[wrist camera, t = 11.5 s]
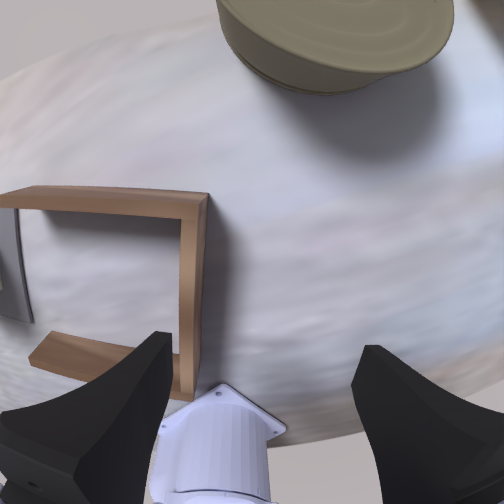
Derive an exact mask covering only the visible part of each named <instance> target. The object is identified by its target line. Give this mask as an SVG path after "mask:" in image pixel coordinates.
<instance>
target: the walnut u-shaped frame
mask: <svg viewBox="0 0 504 504" xmlns="http://www.w3.org/2000/svg"><path fill="white" fill-rule="evenodd" d="M208 195H209V193H202V192H189V191H175V190H159V189H142V188H121V187H94V186H31V187H27V188H23V189H19V190H16V191H12V192H8V193H4V194H1V195H0V208H16V209H38V210H57V211H75V212H92V213H107V214H122V215H136V216H149V217H162V218H175V219H181V240H180V271H179V354H173V381H172V386H171V391H170V396H169V399H175V400H182V401H190V402H193V401H194V395H195V389H196V384H197V378H198V373H199V368H200V341H201V311H202V288H203V268H204V251H205V235H206V221H207V207H208ZM134 349H135V348H132V347H126V346H121V345H115V344H110V343H105V342H100V341H95V340H90V339H85V338H81V337H76V336H72V335H67V334H63V333H59V332H55V331H51V332H50V333H49V334H48V335H47V337H46V338H45V339H44V340H43V341H42V342H41V343H40V344H39V345H38V347H37V348H36V349H35V350H34V351H33V352H32V353H31V355H30V356H29V357H28V358H29V361H30V364H31V366H33V367H36V368H39V369H43V370H46V371H49V372H52V373H55V374H59V375H62V376H66V377H69V378H73V379H77V380H80V381H84V382H88V383H89V382H90V381H92V380H94V379H96V378H97V377H99V376H100V375H102V374H103V373H105V372H106V371H108V370H109V369H110V368H112V367H113V366H114V365H116V364H117V363H119V362H120V361H121V360H122V359H124V358H125V357H126V356H127V355H128V354H130V353H131V352H132V351H133V350H134Z"/></svg>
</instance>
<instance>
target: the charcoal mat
mask: <svg viewBox="0 0 504 504" xmlns="http://www.w3.org/2000/svg"><path fill="white" fill-rule="evenodd" d="M0 277H1V282H2V287H3V289H2V290H0V315H3V316H6V317H10V318H13V319H17V320H20V321H24V322H27V323H32V322H33V319H32V314H31V310H30V305H29V300H28V295H27V290H26V284H25V278H24V272H23V265H22V258H21V250H20V241H19V230H18V217H17V209H16V208H0Z"/></svg>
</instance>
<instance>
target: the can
mask: <svg viewBox="0 0 504 504" xmlns="http://www.w3.org/2000/svg"><path fill="white" fill-rule="evenodd" d="M216 3H217V8H218V12H219V17H220V23H221V27H222V31H223V33H224V36H225V38H226V40H227V42H228V44H229V46H230V47H231V49H232V50H233V52H234V53H235V54H236V55H237V57H238V58H239V59H240V60H241V61H242V62H243V63H244V64H245V65H246V66H248V67H249V68H250V69H251V70H252V71H254V72H255V73H256V74H258V75H259V76H261V77H263V78H264V79H266V80H268V81H270V82H272V83H274V84H276V85H278V86H281V87H283V88H286V89H289V90H292V91H296V92H300V93H305V94H311V95H338V94H344V93H349V92H352V91H356V90H358V89H361V88H363V87H365V86H367V85H369V84H371V83H373V82H375V81H377V80H379V79H382V78H384V77H386V76H388V75H391V74H397V73H401V72H406V71H409V70H411V69H414V68H417V67H419V66H421V65H423V64H425V63H427V62H428V61H430V60H431V59H433V58H434V57H435V56H436V55H437V54H438V53H439V52H440V51H441V50H442V49H443V48H444V46H445V45H446V43H447V41H448V40H449V37H450V35H451V32H452V28H453V24H454V5H453V0H216Z"/></svg>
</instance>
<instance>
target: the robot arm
mask: <svg viewBox="0 0 504 504" xmlns="http://www.w3.org/2000/svg"><path fill="white" fill-rule="evenodd" d="M172 381H173V354H172V333H167V332H159V331H155V332H154V333H152V334H151V335H150V336H149V337H148V338H147V339H146V340H144V341H143V342H142V343H141V344H140V345H139V346H138V347H137V348H135V349H134V350H133V351H132V352H131V353H130V354H128V355H127V356H126V357H125V358H124V359H122V360H121V361H120V362H119V363H117V364H116V365H114V366H113V367H112V368H110V369H109V370H108V371H106V372H105V373H103V374H102V375H100V376H99V377H97V378H96V379H94V380H92V381H90V382H89V383H87V384H85V385H83V386H81V387H79V388H77V389H75V390H73V391H71V392H68V393H66V394H64V395H62V396H60V397H57V398H54V399H52V400H49V401H46V402H43V403H39V404H36V405H33V406H29V407H24V408H20V409H15V410H10V411H4V412H2V413H1V414H0V471H1V473H2V474H3V475H4V476H5V477H6V478H7V481H6V483H5V486H3V485H2V484H1V483H0V504H143V501H144V494H145V487H146V480H147V474H148V469H149V463H150V458H151V453H152V450H153V446H154V442H155V439H156V436H157V433H158V434H159V435H160V438H159V442H158V446H157V450H156V454H155V459H154V463H153V467H152V471H151V476H150V480H149V489H150V493H151V497H152V499H153V501H154V503H153V504H278V503H272V502H271V498H270V485H269V472H268V459H267V445H266V442H267V441H268V440H270V439H272V438H274V437H276V436H278V435H280V434H282V433H283V432H285V431H286V426H285V425H284V424H282V423H281V422H279V421H278V420H276V419H275V418H273V417H272V416H270V415H269V414H268V413H266V412H265V411H263V410H262V409H260V408H259V407H257V406H256V405H255V404H253V403H252V402H250V401H249V400H248V399H246V398H245V397H243V396H242V395H241V394H239V393H238V392H237V391H235V390H234V389H232V388H231V387H230V386H228V385H227V384H220V385H218V386H216V387H215V388H213V389H212V390H210V391H209V392H207V393H206V394H204V395H203V396H201V397H199V398H198V399H196V400H195V401H193V402H192V403H190V404H188V405H187V406H185V407H184V408H182V409H180V410H179V411H177V412H175V413H174V414H172V415H170V416H169V417H167V418H165V419H164V420H162V418H163V415H164V412H165V409H166V406H167V403H168V400H169V396H170V391H171V386H172ZM351 387H352V392H353V397H354V401H355V405H356V408H357V411H358V413H359V416H360V419H361V421H362V424H363V427H364V429H365V432H366V434H367V437H368V440H369V442H370V445H371V448H372V450H373V453H374V457H375V461H376V465H377V470H378V474H379V480H380V486H381V492H382V499H383V504H504V413H500V412H496V411H493V410H489V409H486V408H483V407H480V406H478V405H475V404H473V403H470V402H468V401H465V400H463V399H461V398H459V397H457V396H455V395H453V394H451V393H449V392H448V391H446V390H444V389H442V388H440V387H439V386H437V385H436V384H434V383H433V382H431V381H429V380H428V379H426V378H425V377H423V376H422V375H421V374H419V373H418V372H416V371H415V370H414V369H412V368H411V367H409V366H408V365H407V364H405V363H404V362H403V361H401V360H400V359H399V358H397V357H396V356H395V355H393V354H392V353H391V352H389V351H388V350H386V349H385V348H383V347H382V346H380V345H365V347H364V350H363V353H362V356H361V359H360V362H359V364H358V367H357V370H356V373H355V375H354V378H353V381H352V383H351ZM217 392H221V393H217Z"/></svg>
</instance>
